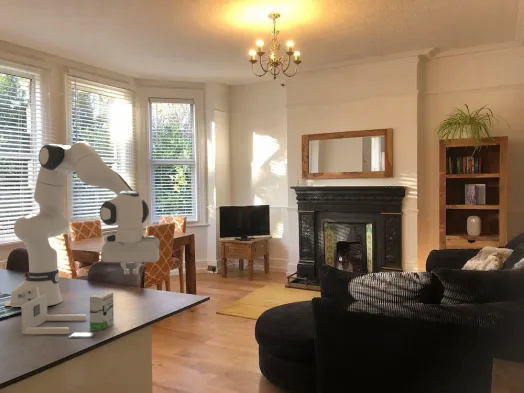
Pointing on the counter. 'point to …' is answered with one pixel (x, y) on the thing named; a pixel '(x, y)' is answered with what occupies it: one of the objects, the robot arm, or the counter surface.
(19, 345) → the counter surface
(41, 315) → the dock
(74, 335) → the picture frame
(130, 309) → the counter surface
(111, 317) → the ink box
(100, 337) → the counter surface
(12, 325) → the counter surface
